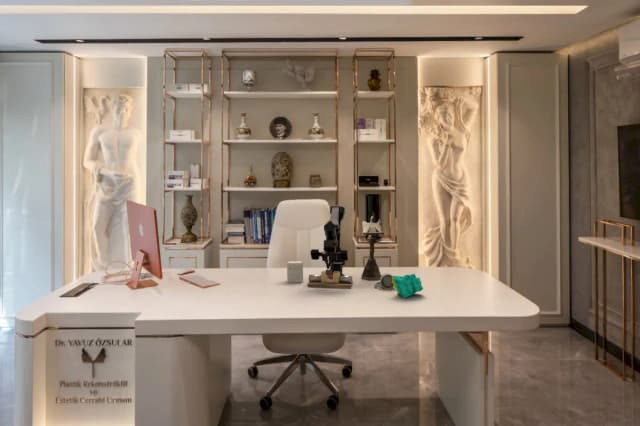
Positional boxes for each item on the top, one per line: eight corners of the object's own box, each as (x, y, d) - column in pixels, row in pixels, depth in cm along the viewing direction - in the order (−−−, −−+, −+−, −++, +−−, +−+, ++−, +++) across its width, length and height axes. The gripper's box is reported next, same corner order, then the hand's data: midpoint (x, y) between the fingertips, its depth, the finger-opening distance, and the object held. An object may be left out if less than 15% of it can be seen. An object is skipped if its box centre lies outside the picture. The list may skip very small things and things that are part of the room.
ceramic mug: (393, 285, 252) (393, 271, 251) (395, 289, 244) (395, 274, 243) (373, 286, 252) (373, 271, 251) (374, 289, 244) (374, 274, 244)
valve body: (310, 280, 256) (310, 270, 256) (352, 282, 253) (352, 271, 253) (308, 282, 252) (308, 271, 252) (351, 283, 249) (351, 273, 248)
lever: (328, 276, 254) (325, 269, 244) (333, 276, 253) (331, 269, 244) (327, 279, 253) (325, 273, 243) (333, 280, 253) (331, 273, 243)
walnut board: (311, 282, 260) (311, 279, 260) (352, 283, 257) (352, 280, 257) (307, 286, 248) (307, 284, 248) (350, 288, 245) (350, 285, 245)
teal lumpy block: (390, 277, 239) (415, 266, 237) (401, 299, 237) (425, 288, 235) (387, 277, 225) (413, 265, 223) (398, 301, 223) (425, 289, 221)
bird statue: (386, 282, 259) (387, 216, 257) (361, 282, 260) (362, 216, 258) (384, 276, 276) (385, 214, 273) (361, 275, 277) (361, 214, 274)
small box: (303, 280, 264) (303, 261, 263) (302, 282, 259) (302, 263, 258) (288, 280, 265) (288, 260, 264) (287, 282, 259) (286, 262, 259)
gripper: (310, 233, 247) (307, 258, 237) (347, 234, 244) (345, 259, 234) (313, 246, 255) (309, 271, 245) (349, 247, 252) (347, 272, 242)
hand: (327, 268), depth 241 cm, fingers closed
